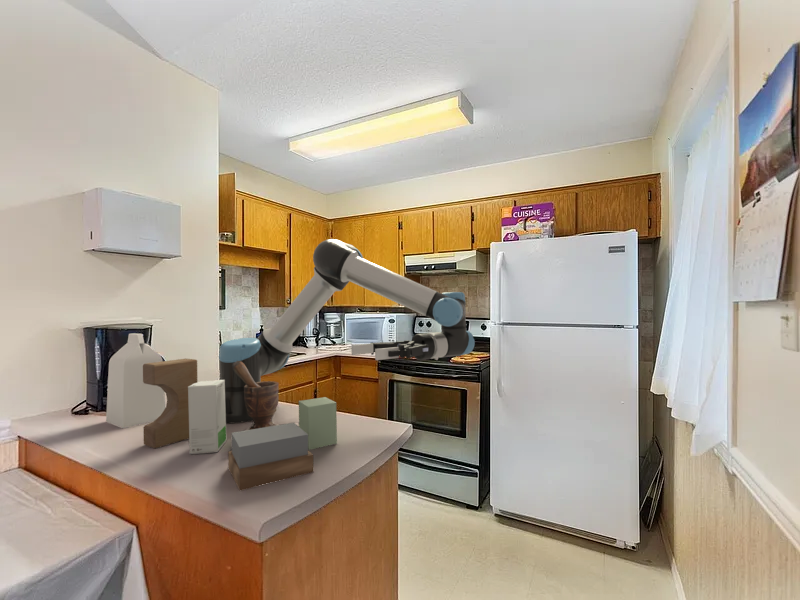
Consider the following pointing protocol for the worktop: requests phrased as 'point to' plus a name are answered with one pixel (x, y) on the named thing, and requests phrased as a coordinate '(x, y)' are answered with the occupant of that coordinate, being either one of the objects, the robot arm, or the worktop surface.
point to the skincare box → (207, 416)
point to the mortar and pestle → (258, 397)
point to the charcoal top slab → (268, 444)
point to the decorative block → (170, 400)
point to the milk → (133, 386)
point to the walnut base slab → (269, 470)
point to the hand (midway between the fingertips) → (363, 352)
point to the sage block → (318, 421)
